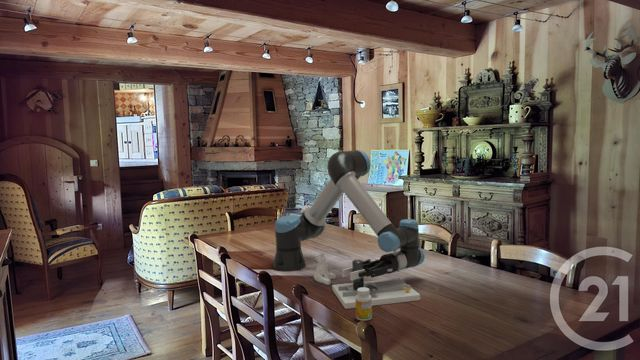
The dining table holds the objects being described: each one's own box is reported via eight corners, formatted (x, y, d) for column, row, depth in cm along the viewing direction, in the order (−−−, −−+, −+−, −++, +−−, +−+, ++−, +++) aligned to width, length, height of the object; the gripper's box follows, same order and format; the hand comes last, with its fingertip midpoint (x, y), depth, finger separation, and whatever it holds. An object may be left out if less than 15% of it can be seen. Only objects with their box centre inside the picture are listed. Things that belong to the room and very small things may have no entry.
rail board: (345, 308, 154) (345, 298, 154) (332, 289, 174) (332, 280, 173) (420, 300, 160) (420, 289, 159) (399, 282, 179) (399, 273, 179)
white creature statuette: (329, 285, 179) (328, 256, 178) (309, 283, 182) (308, 255, 181) (336, 278, 188) (335, 250, 187) (317, 276, 191) (316, 249, 190)
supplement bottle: (354, 315, 148) (353, 287, 148) (370, 314, 149) (369, 286, 148) (357, 321, 143) (356, 292, 142) (373, 320, 144) (373, 291, 143)
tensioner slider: (353, 299, 157) (352, 268, 156) (346, 290, 167) (345, 260, 166) (383, 296, 159) (382, 265, 158) (374, 287, 169) (373, 258, 168)
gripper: (408, 276, 168) (362, 291, 155) (377, 267, 182) (332, 279, 169) (408, 257, 168) (361, 270, 154) (377, 249, 181) (332, 260, 168)
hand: (346, 274), depth 161 cm, fingers closed on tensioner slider, 4 cm apart
